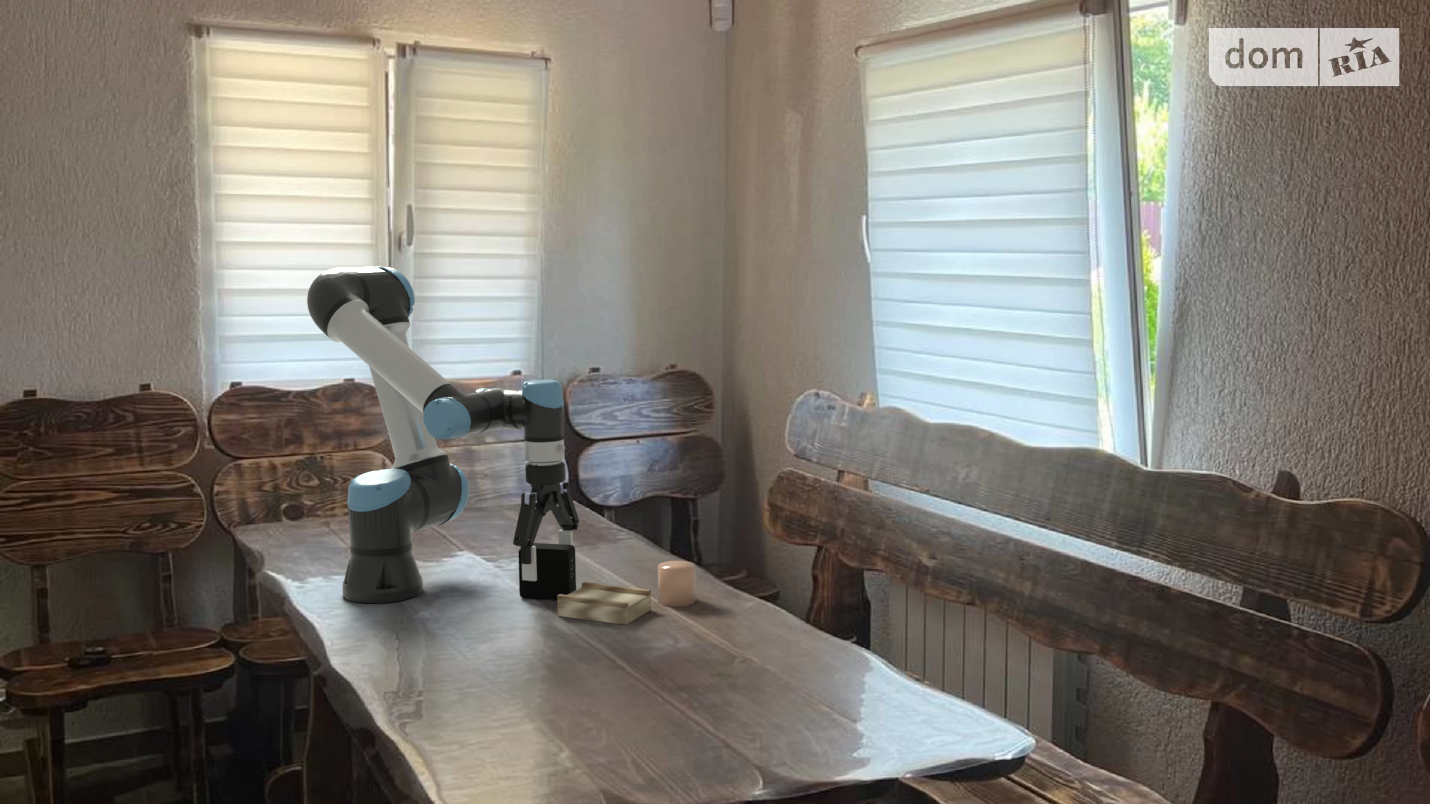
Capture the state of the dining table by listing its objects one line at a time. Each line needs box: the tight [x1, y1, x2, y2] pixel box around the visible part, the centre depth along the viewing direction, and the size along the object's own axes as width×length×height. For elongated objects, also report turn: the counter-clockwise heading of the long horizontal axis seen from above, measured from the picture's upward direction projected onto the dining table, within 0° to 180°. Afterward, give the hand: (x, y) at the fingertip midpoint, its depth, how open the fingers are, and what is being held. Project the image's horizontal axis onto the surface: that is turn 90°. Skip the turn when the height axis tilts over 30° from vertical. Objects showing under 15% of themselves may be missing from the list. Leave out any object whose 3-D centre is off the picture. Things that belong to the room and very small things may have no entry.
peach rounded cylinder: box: [657, 560, 696, 608], centre depth 247 cm, size 7×7×7 cm
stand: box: [556, 581, 652, 626], centre depth 240 cm, size 14×10×4 cm
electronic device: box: [518, 542, 577, 602], centre depth 250 cm, size 4×10×10 cm, turn 78°
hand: (548, 571), depth 249 cm, fingers open, 13 cm apart
